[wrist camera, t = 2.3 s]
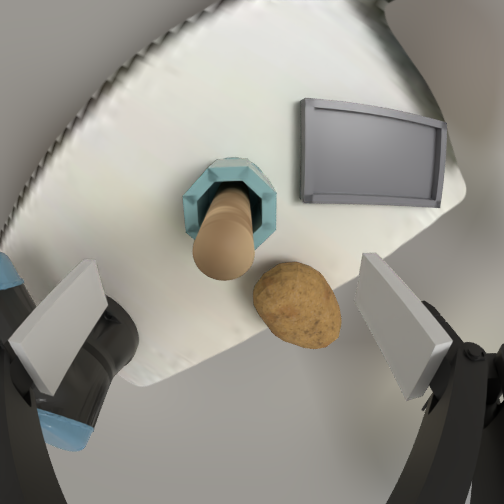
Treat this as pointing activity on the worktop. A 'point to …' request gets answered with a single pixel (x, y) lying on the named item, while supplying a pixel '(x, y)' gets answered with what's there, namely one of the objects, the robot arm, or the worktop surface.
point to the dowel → (226, 234)
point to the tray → (370, 155)
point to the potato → (298, 305)
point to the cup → (232, 170)
